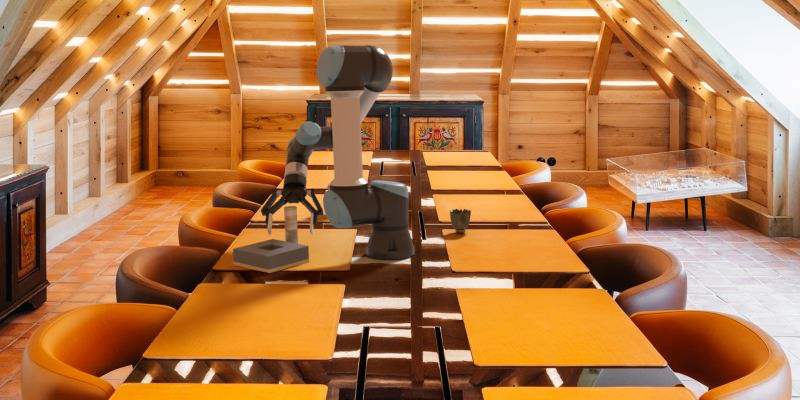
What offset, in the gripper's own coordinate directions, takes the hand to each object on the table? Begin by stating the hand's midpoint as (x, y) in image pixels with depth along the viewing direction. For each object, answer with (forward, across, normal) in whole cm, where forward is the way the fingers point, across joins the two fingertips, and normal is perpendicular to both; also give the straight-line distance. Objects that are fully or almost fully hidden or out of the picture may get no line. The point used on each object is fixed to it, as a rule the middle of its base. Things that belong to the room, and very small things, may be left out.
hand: (290, 232), depth 264 cm
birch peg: (+3, 0, -6) cm, 7 cm away
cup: (-13, -56, -22) cm, 61 cm away
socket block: (+15, +4, +6) cm, 17 cm away
